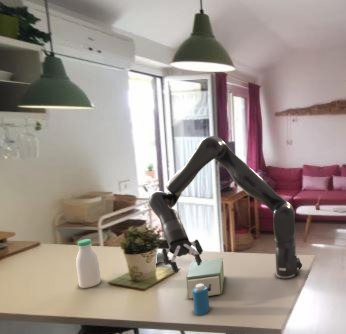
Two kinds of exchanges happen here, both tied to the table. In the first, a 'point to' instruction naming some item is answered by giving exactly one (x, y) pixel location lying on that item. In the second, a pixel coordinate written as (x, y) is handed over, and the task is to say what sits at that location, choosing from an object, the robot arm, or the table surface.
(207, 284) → the drawer
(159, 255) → the packaged food
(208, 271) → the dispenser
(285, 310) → the table surface
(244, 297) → the table surface
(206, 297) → the detergent bottle
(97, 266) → the milk bottle
